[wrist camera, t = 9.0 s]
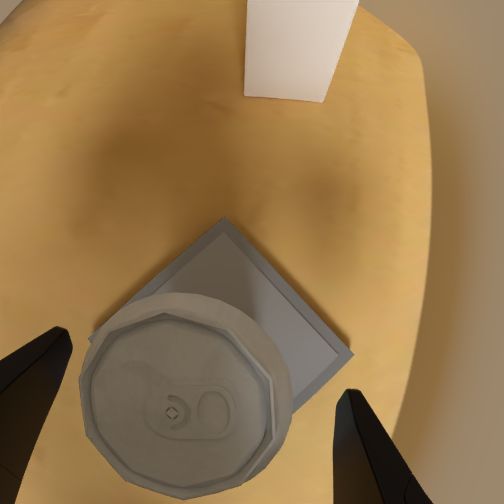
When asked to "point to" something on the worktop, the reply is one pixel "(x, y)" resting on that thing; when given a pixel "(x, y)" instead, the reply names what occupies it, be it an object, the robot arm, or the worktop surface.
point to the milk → (294, 46)
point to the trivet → (255, 304)
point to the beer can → (185, 395)
